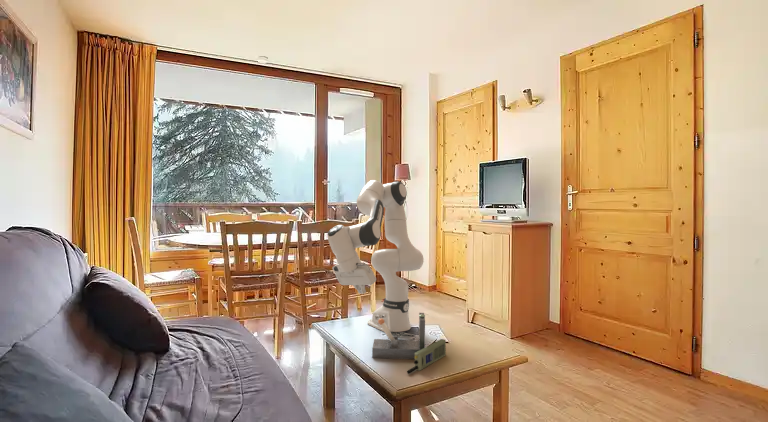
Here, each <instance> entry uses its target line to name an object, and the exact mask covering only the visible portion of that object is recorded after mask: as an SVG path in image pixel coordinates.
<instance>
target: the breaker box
mask: <svg viewBox="0 0 768 422" xmlns="http://www.w3.org/2000/svg"><path fill="white" fill-rule="evenodd" d="M393 337H394V339H395V340H392V343H391V341H390V340H389V338H388V339H385V338H384V339H383V338H382V339H381V338H374V339H373V342H372V343H373V344H372V347H371V348H372V351H371V352H372V353H371V355H372V357H371V359H372V358H373V359H393V360H395V359H396V360H397V359H399V360H415V353H416V352H417V351H419V350H421V349H423V348H425V347H426V345H425V344H426V342H425V341H426V314H425V312H419V313H418V339H417V340H415V339H399V335H398V336H397V335H396V336H395V335H393Z"/></svg>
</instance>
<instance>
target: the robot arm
mask: <svg viewBox="0 0 768 422" xmlns="http://www.w3.org/2000/svg"><path fill="white" fill-rule="evenodd" d="M407 191H408V190H407V187H406V185H405V184H404V183H403V182H402V181H399V180H398V181H393V182H388V183H382V182H381V181H379V180H376V179H371V180H369V181H367V182H366V184H364V186H363V187H362V189H361V191H360V192H359V194H358V196H357V199H356V207H357V209H358V211H359V212H360V213H361V214H363V215H365V216H368V217H369V218H368V220H367V221H364V222H362V223H358V224H354V225H349V226H344V225H343V224H338V225H335V226H333V227H332V228H330V229H329V231H327V235H326V236H327V241H328V243H329V246H330V249H331V251H332V253H333V255H335V258H336V262H337V263H336V264H335V265H334V266H332V271H333V272H334V274H335V275H334V276H335V277H336V279H337V282H338V283H339V284H340V285H341V286H352V287H353V288H354V289H356V290H357V293H358V294H359V295H360V294H361V295H362V294H363V295H364V294H366V292H367V290H366V286H372V285H373V284H374V283H376V282H377V277H376V275H375V273H374V271H373V269H374V270H375V271H376V272H378V273H379V274H380V276H381V277H382V279H383V281H384V286H385V298H383V299H381V302H382V305H381V306H380V307H378V308H377V309H375V310H374V311H373V313H372V317H371V319H369V320H368V321H367V325H369V326H370V327H373V328H375V329H377V330H379V331H382V332H384V330H383V328H382V327H381V325H380V324H379V323H378V320H379V319H380V318H382V319H384V322H385V324H386V326H387V327H388V329H389V330H390V332H391V333H393V332H394V333H398V332H406V331H409V330H410V329H411V328H412V325H411V321H410V313H409V308H410V307H409V306H410V299H409V284H408V282H407V281H406V280H405V279H403V278H402V277H399V276H398V275H397V272H412V271H418V270H420V269H421V268H422V267H423V265H424V262H425V261H424V260H425V259H424V255H423V253H422V252H421V251H420V250H419V249H417V248H416V247H415V245H413V244H412V242H411V241H410V238H409V234H408V226H407V217H406V211H405V207H404V204H405V201H406V198H407V194H408V192H407ZM383 218H384V237H385V239H386V240H387V241H388V242H390V243H392V244H394V245H395V246H396V248H382V249H378V250H377V249H376V250H374V252H373V253H372V255H371V258H370V259H371V260H370V263H371V265H372V267H373V269H372V268H371V267H370V265H368V264H367V263H366V262H361V259H360V257H359V255H358V252H357V250H356V249H358V248H364V247H370V246H376V245H377V244H378V242H379V241H380V239H381V237H382V236H381V235H382V233H381V231H382V230H381V229H382V225H383V224H382V222H383ZM384 333H385V332H384Z"/></svg>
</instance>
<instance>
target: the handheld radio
mask: <svg viewBox="0 0 768 422" xmlns="http://www.w3.org/2000/svg"><path fill="white" fill-rule="evenodd" d="M446 344H447V343H446V339H444V338H442V339H441V338H440V339H439V340H437V341H434V342H433V343H431V344H430V345H429V344H428V345H427V346H425V348H423V349H421V350H419V351H417V352H416V353H415V359H414V367H411V368H409V369H408V370H407V371H406V373H407V374H408V375H410V374H412V373H413V372H415V371H421V370H423V369H425V368H426V367H428V366H430V365H432V364H434V363H436V362H437V361H438V360H441V359H443V358H444V357H445V356H446V355H447V350H446V349H447V346H446Z"/></svg>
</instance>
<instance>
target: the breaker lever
mask: <svg viewBox="0 0 768 422" xmlns="http://www.w3.org/2000/svg"><path fill="white" fill-rule="evenodd" d="M378 323H379V324H380V325H381V327H382V328H383V330H384V334H386V336H387V338H388V339H389V340H390V341H391V343H392V340H395V339H394V337H393V336H394V335H393V334H392V332H390V330H389V329H388V327H387V326H386V324H385V322H384V319H382V318H380V319H379V320H378Z"/></svg>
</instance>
